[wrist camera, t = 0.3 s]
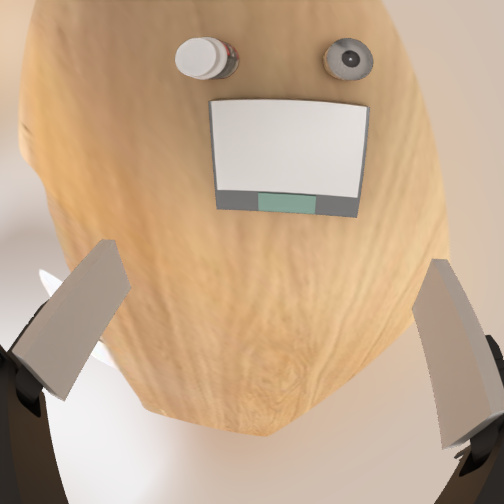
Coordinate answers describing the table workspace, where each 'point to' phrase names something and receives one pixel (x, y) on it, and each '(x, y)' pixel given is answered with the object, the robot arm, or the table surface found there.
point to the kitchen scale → (288, 155)
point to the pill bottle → (206, 58)
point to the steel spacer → (348, 59)
